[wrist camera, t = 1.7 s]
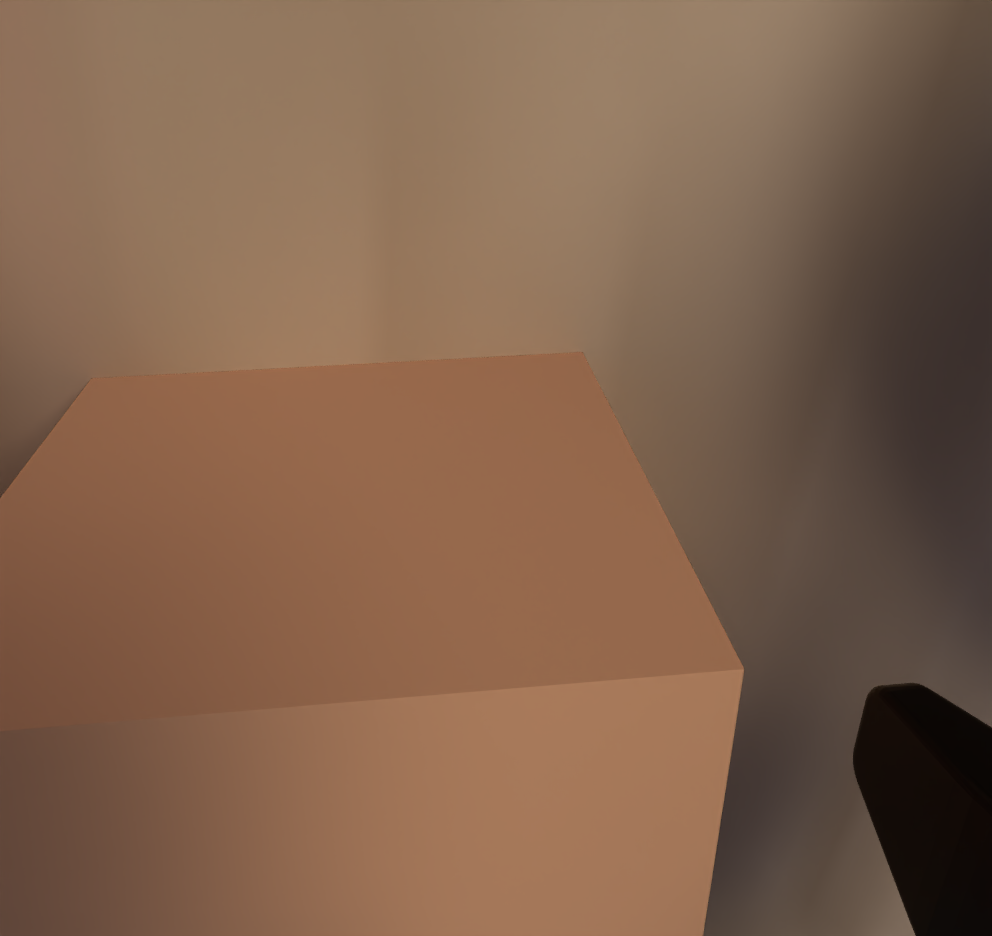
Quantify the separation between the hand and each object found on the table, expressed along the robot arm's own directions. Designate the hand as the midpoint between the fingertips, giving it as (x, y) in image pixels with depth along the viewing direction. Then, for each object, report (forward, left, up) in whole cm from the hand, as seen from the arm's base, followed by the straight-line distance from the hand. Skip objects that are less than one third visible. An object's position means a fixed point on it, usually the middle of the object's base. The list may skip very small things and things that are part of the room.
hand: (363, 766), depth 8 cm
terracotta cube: (0, 0, -3) cm, 3 cm away
